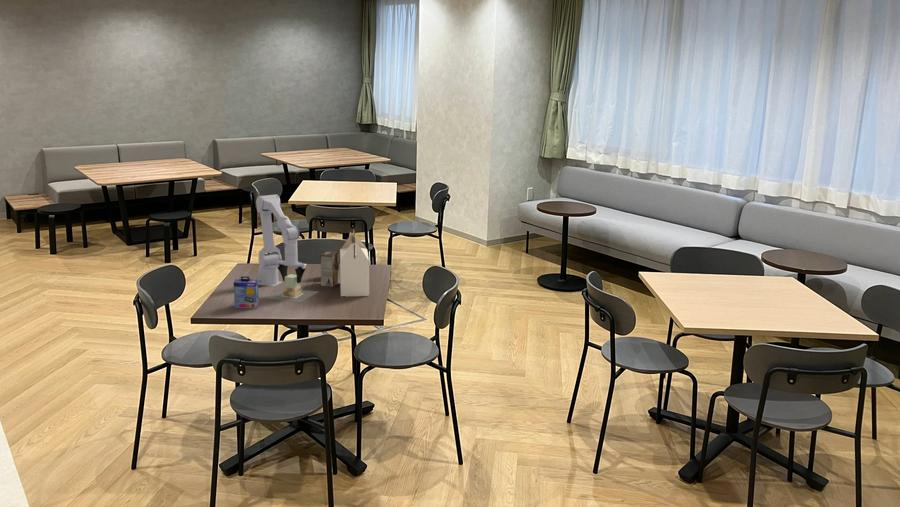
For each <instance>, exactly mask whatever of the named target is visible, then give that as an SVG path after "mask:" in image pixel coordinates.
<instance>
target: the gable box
mask: <svg viewBox="0 0 900 507" xmlns="http://www.w3.org/2000/svg"><path fill="white" fill-rule="evenodd" d="M339 283H340V297H341V296H345V297H370V258H369V252H368V249H367V247H366V245H365V244H364V243H363V242H362V240H361V239H360V237H359V235H357V234H355V229H352V232H351V231H349V236H348V237H347V239H346V240H345V242H344V244H343V245H342V247H341V248H340V249H339Z"/></svg>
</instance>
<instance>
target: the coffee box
mask: <svg viewBox="0 0 900 507" xmlns="http://www.w3.org/2000/svg"><path fill="white" fill-rule="evenodd" d="M319 259H320V286H322V287H332V288H333V287H336V286H337V285H338V284H339V283H340V251H337V250H335V251H334V250H326V251H324V252H323V253H322V254H320V258H319ZM335 285H336V286H335Z"/></svg>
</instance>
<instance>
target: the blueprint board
mask: <svg viewBox="0 0 900 507" xmlns="http://www.w3.org/2000/svg"><path fill="white" fill-rule="evenodd" d="M318 293H319V291H317V290H309V289H301V294H300V295H298V296H297V297H288V296H283V288H282V289H280V290H278V291H276V292H274V293H272V294H271V295H268V296H267V297H265V299H267V300H268V299H269V300H273V301H274V300H275V301H282V302H283V301H284V302H291V303H299V304H301V303H302V302H304V301H306V300H308V299H309V298H311V297H312V296H315V295H316V294H318Z"/></svg>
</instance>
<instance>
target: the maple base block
mask: <svg viewBox="0 0 900 507" xmlns="http://www.w3.org/2000/svg"><path fill="white" fill-rule="evenodd" d="M282 289H283V296H288V297H297V296H298V295H300V294H301V290H302V285H300V286H299V287H297V288H295V289H293V288H287V287H285V286H283V288H282Z"/></svg>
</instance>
